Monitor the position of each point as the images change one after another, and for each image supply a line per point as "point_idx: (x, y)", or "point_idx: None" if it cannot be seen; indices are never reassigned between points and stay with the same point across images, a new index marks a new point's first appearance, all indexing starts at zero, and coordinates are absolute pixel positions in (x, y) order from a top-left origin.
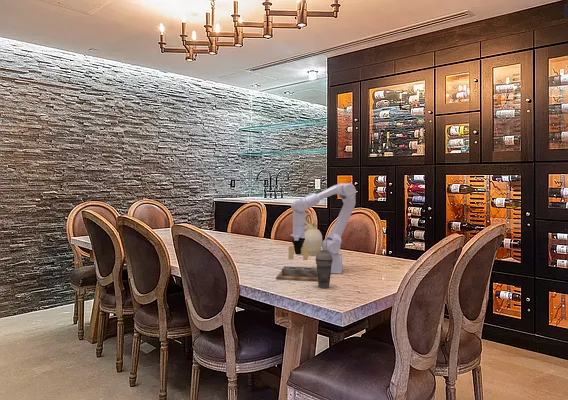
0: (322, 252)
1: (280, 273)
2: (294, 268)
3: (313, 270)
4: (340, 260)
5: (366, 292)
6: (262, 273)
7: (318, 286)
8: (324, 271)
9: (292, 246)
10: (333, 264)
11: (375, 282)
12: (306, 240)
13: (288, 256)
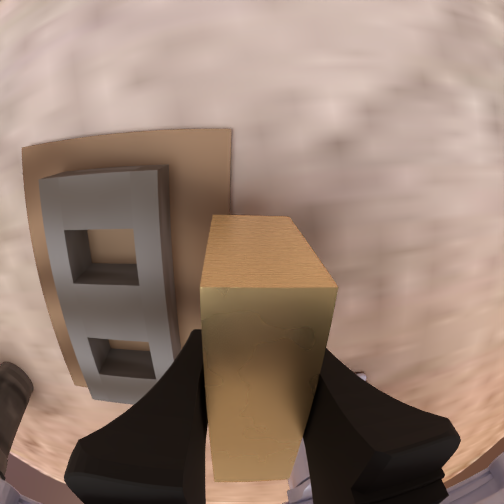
0: None
1: (129, 142)
2: (140, 263)
3: (89, 385)
4: (289, 485)
5: (39, 454)
6: (190, 3)
7: (4, 363)
8: None
9: (259, 348)
10: None
11: None
12: None
13: (211, 224)
